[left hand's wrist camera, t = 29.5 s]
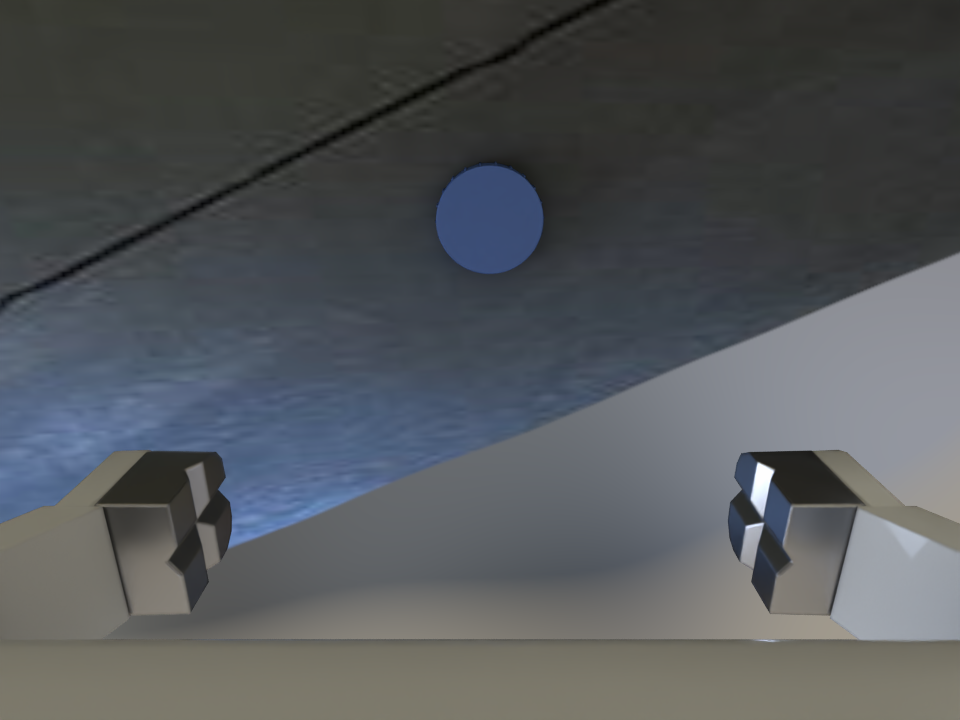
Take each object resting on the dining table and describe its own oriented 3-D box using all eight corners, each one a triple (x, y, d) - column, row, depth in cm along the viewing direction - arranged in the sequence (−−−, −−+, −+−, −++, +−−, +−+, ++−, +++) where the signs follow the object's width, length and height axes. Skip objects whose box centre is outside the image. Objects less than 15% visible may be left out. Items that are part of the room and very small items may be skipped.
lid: (415, 224, 37) (412, 230, 35) (481, 138, 36) (482, 139, 34) (496, 287, 39) (497, 296, 37) (563, 207, 37) (567, 212, 35)
